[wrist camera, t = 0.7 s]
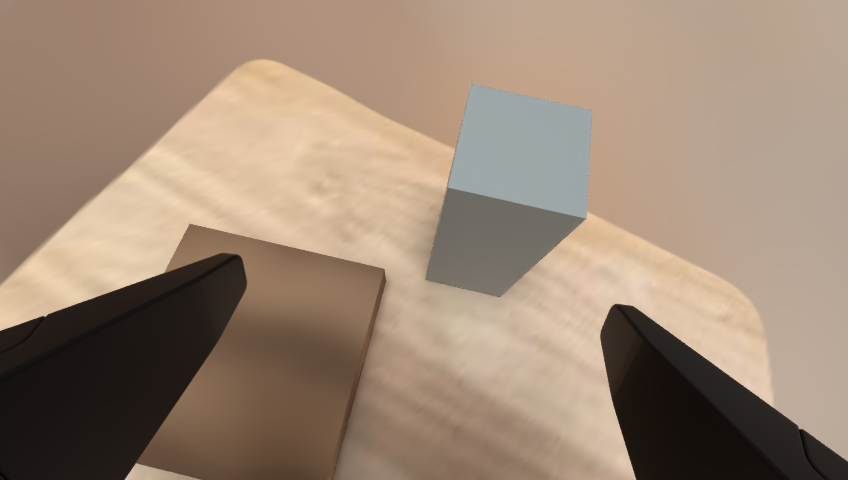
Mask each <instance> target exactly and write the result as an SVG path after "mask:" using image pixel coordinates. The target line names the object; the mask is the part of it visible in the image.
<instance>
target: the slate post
mask: <svg viewBox="0 0 848 480" xmlns="http://www.w3.org/2000/svg"><path fill="white" fill-rule="evenodd" d="M591 122H592V110H590V109H585V108H580V107H575V106H571V105H567V104H562V103H557V102H553V101H548V100H543V99H539V98H534V97H530V96H525V95H520V94H516V93H511V92H507V91H502V90H498V89H493V88H489V87H484V86H479V85H475V84H471V87H470V91H469V95H468V99H467V103H466V108H465V112H464V117H463V120H462V125H461V129H460V133H459V137H458V141H457V146H456V150H455V154H454V158H453V163H452V167H451V171H450V175H449V180H448V184H447V188H446V192H445V197H444V201H443V205H442V209H441V213H440V218H439V222H438V227H437V231H436V235H435V240H434V244H433V249H432V253H431V257H430V262H429V266H428V270H427V275H426V279H425V280H428V281H433V282H437V283H441V284H446V285H450V286H454V287H458V288H463V289H467V290H471V291H476V292H480V293H484V294H489V295H493V296H497V297H500V296H501V295H502V294H504V293H505V292H506V291H507V290H508V289H509V288H510V287H511V286H512V285H513V284H515V283H516V282H517V281H518V280H519V279H520V278H521V277H522V276H523V275H525V274H526V273H527V272H528V271H529V270H530V269H531V268H532V267H533V266H534V265H536V264H537V263H538V262H539V261H540V260H541V259H542V258H543V257H544V256H546V255H547V254H548V253H549V252H550V251H551V250H552V249H553V248H554V247H555V246H557V245H558V244H559V243H560V242H561V241H562V240H563V239H564V238H565V237H567V236H568V235H569V234H570V233H571V232H572V231H573V230H574V229H575V228H576V227H578V226H579V225H580V224H581V223H582V222H583V221H584V220H585V219H586V215H587V196H588V177H589V159H590V140H591Z"/></svg>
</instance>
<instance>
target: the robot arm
mask: <svg viewBox="0 0 848 480" xmlns="http://www.w3.org/2000/svg"><path fill="white" fill-rule="evenodd" d="M246 288H247V278H246V273H245V268H244V264H243V260H242V257H241V256H240V255H238V254H233V253H225V252H224V253H219V254H217V255H214V256H211V257H208V258H205V259H203V260H200V261H197V262H194V263H191V264H188V265H186V266H183V267H180V268H177V269H174V270H172V271H169V272H166V273H163V274H160V275H157V276H155V277H152V278H149V279H146V280H143V281H141V282H138V283H135V284H132V285H129V286H126V287H124V288H121V289H118V290H115V291H112V292H109V293H107V294H104V295H101V296H98V297H95V298H93V299H90V300H87V301H84V302H81V303H78V304H76V305H73V306H70V307H67V308H64V309H62V310H59V311H56V312H53V313H50V314H48V315H47V316H46V317H45V316H42V317H39V318H36V319H33V320H30V321H27V322H25V323H22V324H19V325H16V326H13V327H10V328H7V329H4V330H2V331H0V480H125V478H126V477H127V475H128V474H129V472H130V471H131V470H132V468H133V467H134V465H135V464H136V462H137V461H138V459H139V458H140V456H141V455H142V453H143V452H144V450H145V449H146V447H147V446H148V444H149V443H150V442H151V440H152V439H153V437H154V436H155V434H156V433H157V431H158V430H159V428H160V427H161V425H162V424H163V422H164V421H165V419H166V418H167V416H168V415H169V414H170V412H171V411H172V409H173V408H174V406H175V405H176V403H177V402H178V400H179V399H180V397H181V396H182V394H183V393H184V391H185V390H186V389H187V387H188V386H189V384H190V383H191V381H192V380H193V378H194V377H195V375H196V374H197V372H198V371H199V369H200V368H201V366H202V365H203V363H204V362H205V361H206V359H207V358H208V356H209V355H210V353H211V352H212V350H213V349H214V347H215V346H216V344H217V342H218V341H219V339H220V337H221V336H222V334H223V332H224V330H225V328H226V326H227V325H228V323H229V321H230V319H231V317H232V315H233V313H234V311H235V310H236V308H237V306H238V304H239V302H240V300H241V298H242V297H243V295H244V293H245V291H246ZM600 339H601V345H602V350H603V356H604V361H605V366H606V372H607V377H608V382H609V388H610V393H611V397H612V402H613V405H614V409H615V412H616V415H617V419H618V422H619V425H620V428H621V432H622V435H623V438H624V441H625V445H626V448H627V451H628V454H629V458H630V461H631V464H632V467H633V471H634V474H635V477H636V480H848V461H846V460H845V459H843V458H842V457H841V456H839V455H838V454H836V453H835V452H834V451H832V450H831V449H829V448H828V447H827V446H825V445H824V444H823V443H821V442H820V441H818V440H817V439H816V438H814V437H813V436H811V435H810V434H809V433H807V432H806V431H805V430H803V429H799V428H798V426H797V425H796V424H795V423H793V422H792V421H791V420H789V419H788V418H787V417H785V416H784V415H783V414H781V413H780V412H778V411H777V410H776V409H774V408H773V407H771V406H770V405H769V404H767V403H766V402H765V401H763V400H762V399H760V398H759V397H758V396H756V395H755V394H754V393H752V392H751V391H749V390H748V389H747V388H745V387H744V386H743V385H741V384H740V383H738V382H737V381H736V380H734V379H733V378H732V377H730V376H729V375H727V374H726V373H725V372H723V371H722V370H721V369H719V368H718V367H716V366H715V365H714V364H712V363H711V362H709V361H708V360H707V359H705V358H704V357H703V356H701V355H700V354H698V353H697V352H696V351H694V350H693V349H692V348H690V347H689V346H687V345H686V344H685V343H683V342H682V341H681V340H679V339H678V338H676V337H675V336H674V335H672V334H671V333H670V332H668V331H667V330H665V329H664V328H663V327H661V326H660V325H659V324H657V323H656V322H654V321H653V320H652V319H650V318H649V317H648V316H646V315H645V314H643V313H642V312H641V311H639V310H638V309H637V308H635V307H633V306H629V305H622V304H615V305H613V306H612V307H611V309H610V311H609V313H608V315H607V318H606V320H605V322H604V325H603V327H602V330H601V335H600Z"/></svg>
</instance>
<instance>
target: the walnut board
mask: <svg viewBox="0 0 848 480" xmlns="http://www.w3.org/2000/svg"><path fill="white" fill-rule="evenodd" d="M224 252H225V253H233V254H238V255H240V256H241V257H242V260H243V264H244V268H245V273H246V278H247V288H246V291H245V293H244V295H243V297H242V298H241V300H240V302H239V304H238V306H237V308H236V310H235V311H234V313H233V315H232V317H231V319H230V321H229V323H228V325H227V326H226V328H225V330H224V332H223V334H222V336H221V337H220V339H219V341H218V342H217V344H216V346H215V347H214V349H213V350H212V352H211V353H210V355H209V356H208V358H207V359H206V361H205V362H204V363H203V365H202V366H201V368H200V369H199V371H198V372H197V374H196V375H195V377H194V378H193V380H192V381H191V383H190V384H189V386H188V387H187V389H186V390H185V391H184V393H183V394H182V396H181V397H180V399H179V400H178V402H177V403H176V405H175V406H174V408H173V409H172V411H171V412H170V414H169V415H168V416H167V418H166V419H165V421H164V422H163V424H162V425H161V427H160V428H159V430H158V431H157V433H156V434H155V436H154V437H153V439H152V440H151V442H150V443H149V444H148V446H147V447H146V449H145V450H144V452H143V453H142V455H141V456H140V458H139V459H138V461H137V462H136V463H138V464H142V465H146V466H150V467H154V468H158V469H162V470H166V471H170V472H174V473H178V474H182V475H186V476H190V477H194V478H198V479H202V480H332V477H333V474H334V470H335V466H336V463H337V459H338V455H339V452H340V448H341V444H342V441H343V437H344V433H345V429H346V426H347V422H348V418H349V415H350V411H351V407H352V404H353V400H354V396H355V393H356V389H357V385H358V382H359V378H360V374H361V371H362V367H363V363H364V359H365V356H366V352H367V348H368V345H369V341H370V337H371V334H372V330H373V326H374V323H375V319H376V315H377V312H378V308H379V304H380V300H381V297H382V293H383V289H384V286H385V282H386V277H385V269H382V268H378V267H374V266H369V265H365V264H361V263H356V262H352V261H348V260H344V259H339V258H335V257H331V256H326V255H322V254H318V253H313V252H309V251H305V250H300V249H296V248H292V247H287V246H283V245H279V244H275V243H270V242H266V241H262V240H257V239H253V238H249V237H244V236H240V235H236V234H231V233H227V232H223V231H218V230H214V229H210V228H206V227H201V226H197V225H193V224H189V226H188V228H187V230H186V232H185V234H184V236H183V238H182V240H181V242H180V243H179V245H178V247H177V249H176V251H175V253H174V255H173V257H172V259H171V261H170V263H169V265H168V266H167V268H166V270H165V272H164V273H166V272H169V271H172V270H174V269H177V268H180V267H183V266H186V265H188V264H191V263H194V262H197V261H200V260H203V259H205V258H208V257H211V256H214V255H217V254H219V253H224Z"/></svg>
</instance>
